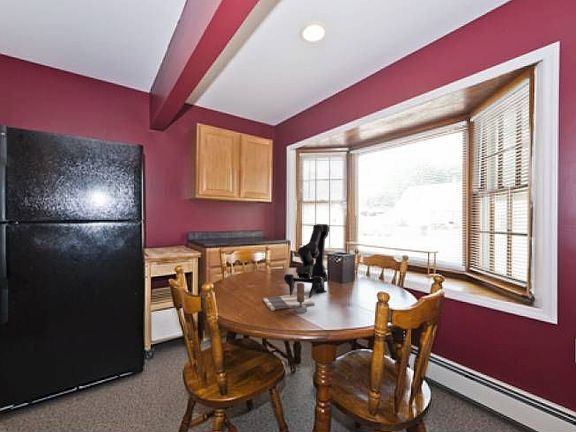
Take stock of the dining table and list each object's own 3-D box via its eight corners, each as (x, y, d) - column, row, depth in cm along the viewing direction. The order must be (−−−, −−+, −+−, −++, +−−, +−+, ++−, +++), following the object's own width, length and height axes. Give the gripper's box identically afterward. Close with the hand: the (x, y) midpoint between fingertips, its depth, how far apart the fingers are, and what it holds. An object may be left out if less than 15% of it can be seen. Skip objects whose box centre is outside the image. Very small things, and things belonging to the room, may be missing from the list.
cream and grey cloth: (263, 300, 146) (263, 297, 146) (302, 295, 153) (302, 293, 153) (271, 310, 131) (271, 308, 130) (314, 305, 138) (314, 302, 138)
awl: (293, 309, 132) (292, 283, 132) (304, 308, 134) (303, 282, 134) (297, 313, 127) (297, 286, 127) (308, 312, 129) (308, 285, 128)
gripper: (285, 257, 137) (276, 285, 127) (322, 259, 130) (316, 289, 120) (290, 270, 145) (282, 297, 135) (326, 273, 138) (320, 302, 128)
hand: (299, 296), depth 129 cm, fingers open, 9 cm apart
